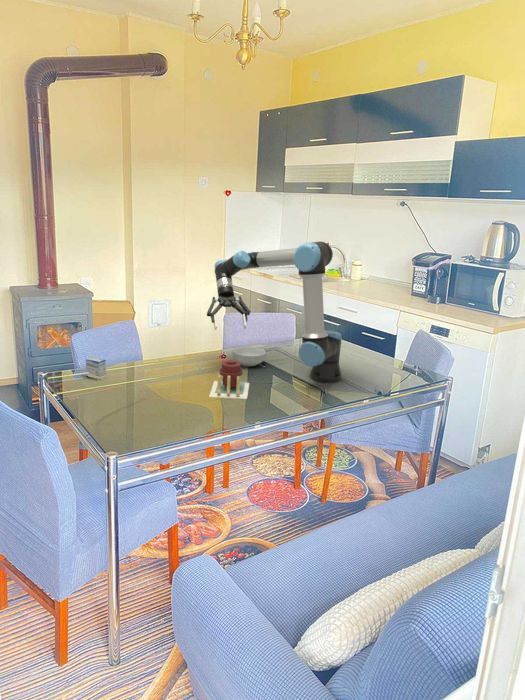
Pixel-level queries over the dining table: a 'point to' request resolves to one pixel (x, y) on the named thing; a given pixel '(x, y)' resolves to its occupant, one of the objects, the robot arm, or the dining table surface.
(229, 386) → the pin
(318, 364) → the robot arm
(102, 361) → the medicine box
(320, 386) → the dining table surface
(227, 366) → the mechanical component
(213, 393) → the header board
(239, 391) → the pin
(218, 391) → the pin
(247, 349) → the cereal bowl
